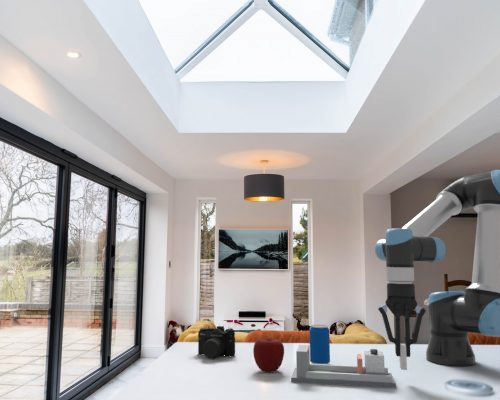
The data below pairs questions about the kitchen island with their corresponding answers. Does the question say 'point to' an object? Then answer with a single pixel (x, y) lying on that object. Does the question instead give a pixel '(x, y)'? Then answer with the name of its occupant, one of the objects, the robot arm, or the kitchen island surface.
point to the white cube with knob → (374, 362)
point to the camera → (216, 342)
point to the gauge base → (335, 373)
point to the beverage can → (319, 344)
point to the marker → (359, 364)
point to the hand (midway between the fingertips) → (403, 368)
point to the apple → (268, 354)
